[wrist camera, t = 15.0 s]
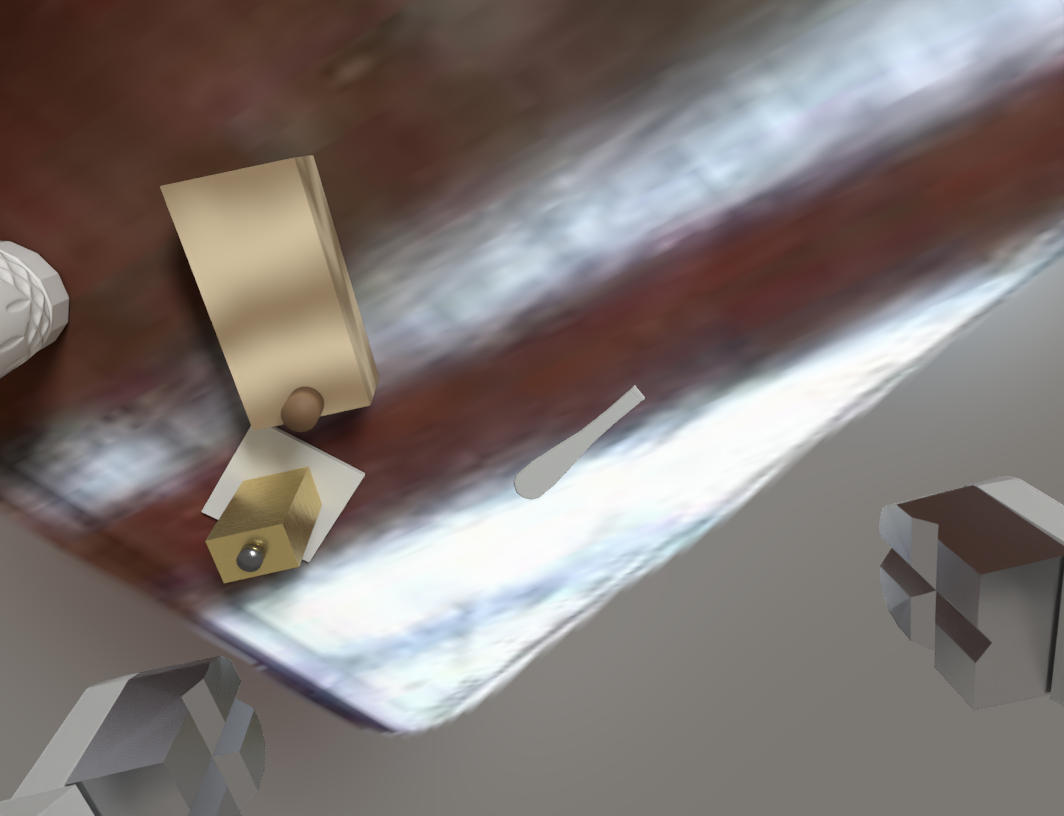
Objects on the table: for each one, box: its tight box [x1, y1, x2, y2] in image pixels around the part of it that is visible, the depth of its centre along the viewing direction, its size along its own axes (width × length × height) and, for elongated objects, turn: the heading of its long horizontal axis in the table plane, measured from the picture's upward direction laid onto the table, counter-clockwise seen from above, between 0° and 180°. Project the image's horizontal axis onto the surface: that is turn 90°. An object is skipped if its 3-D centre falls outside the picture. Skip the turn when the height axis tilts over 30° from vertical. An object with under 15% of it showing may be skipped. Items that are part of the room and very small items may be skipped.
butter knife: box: [514, 385, 645, 499], centre depth 48 cm, size 1×24×3 cm
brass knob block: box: [206, 466, 322, 583], centre depth 44 cm, size 3×4×8 cm, turn 101°
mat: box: [202, 426, 365, 562], centre depth 48 cm, size 8×8×1 cm
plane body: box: [160, 155, 379, 432], centre depth 40 cm, size 14×7×7 cm, turn 11°
